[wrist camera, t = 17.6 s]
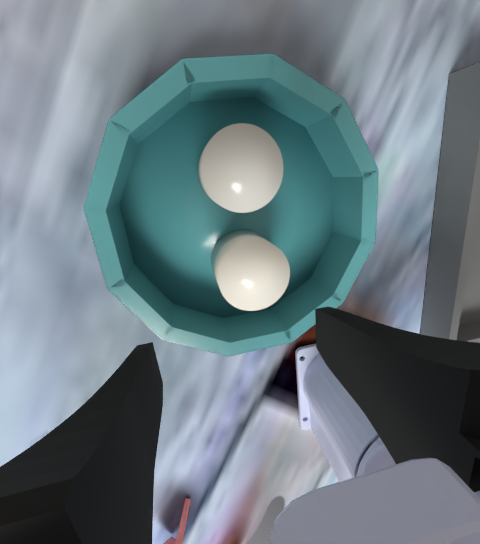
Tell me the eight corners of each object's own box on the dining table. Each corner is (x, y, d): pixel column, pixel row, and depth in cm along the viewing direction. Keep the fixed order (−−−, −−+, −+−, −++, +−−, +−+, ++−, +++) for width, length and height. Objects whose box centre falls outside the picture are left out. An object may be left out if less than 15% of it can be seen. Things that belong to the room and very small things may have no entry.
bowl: (338, 299, 24) (371, 324, 20) (142, 339, 22) (133, 377, 18) (338, 77, 19) (384, 47, 15) (77, 96, 16) (41, 66, 12)
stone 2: (274, 279, 21) (294, 299, 18) (218, 294, 21) (227, 319, 17) (264, 223, 20) (284, 232, 16) (204, 238, 19) (210, 251, 16)
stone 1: (265, 201, 19) (285, 206, 16) (202, 211, 19) (208, 218, 15) (259, 131, 18) (280, 119, 14) (191, 139, 17) (194, 127, 14)
